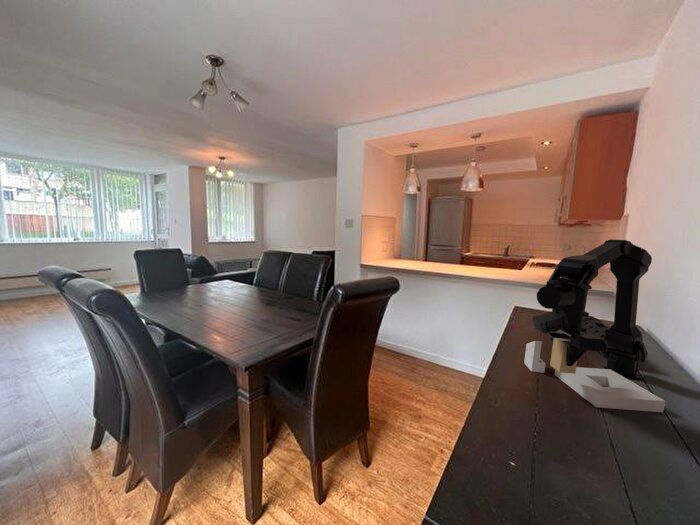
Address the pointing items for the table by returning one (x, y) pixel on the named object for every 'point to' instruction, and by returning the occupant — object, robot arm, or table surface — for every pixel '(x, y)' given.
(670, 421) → the table surface
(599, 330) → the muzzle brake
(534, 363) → the white angled block
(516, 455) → the table surface
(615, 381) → the socket plate
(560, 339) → the plug
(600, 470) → the table surface
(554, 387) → the table surface
